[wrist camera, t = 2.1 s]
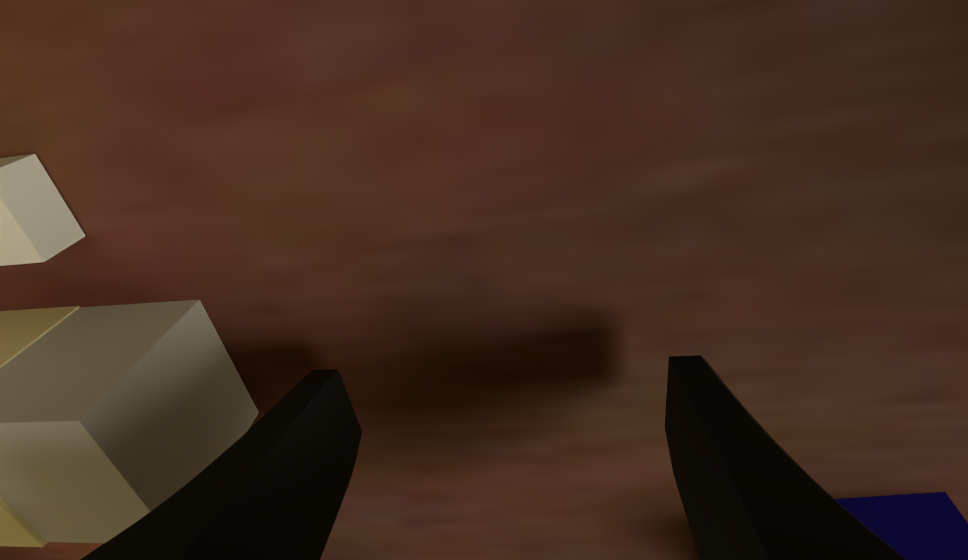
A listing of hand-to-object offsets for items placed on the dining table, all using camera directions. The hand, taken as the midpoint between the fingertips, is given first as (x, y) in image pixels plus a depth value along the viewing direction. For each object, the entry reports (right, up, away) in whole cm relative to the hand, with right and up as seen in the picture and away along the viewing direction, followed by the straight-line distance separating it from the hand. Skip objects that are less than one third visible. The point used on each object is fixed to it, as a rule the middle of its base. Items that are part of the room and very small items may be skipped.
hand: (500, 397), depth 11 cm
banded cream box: (-12, 0, +3) cm, 13 cm away
